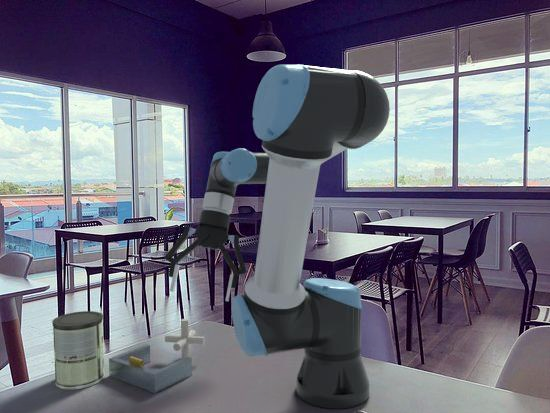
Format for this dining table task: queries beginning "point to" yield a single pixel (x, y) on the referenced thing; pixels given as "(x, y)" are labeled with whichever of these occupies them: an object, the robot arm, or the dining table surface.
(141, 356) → the jig
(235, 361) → the dining table surface
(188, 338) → the pipe connector
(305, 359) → the robot arm
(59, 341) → the coffee can
